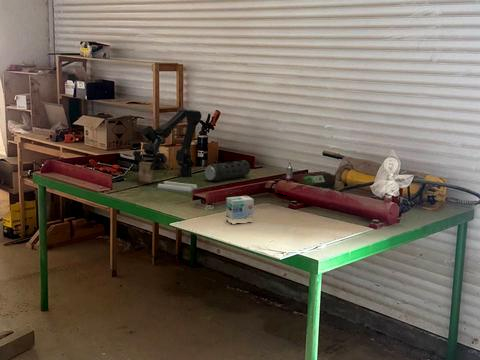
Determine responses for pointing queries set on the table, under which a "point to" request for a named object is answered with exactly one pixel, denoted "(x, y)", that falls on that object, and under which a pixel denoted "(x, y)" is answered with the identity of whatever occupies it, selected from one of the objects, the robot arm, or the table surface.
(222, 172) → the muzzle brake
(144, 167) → the wooden block
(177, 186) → the track board
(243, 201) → the light bulb box
